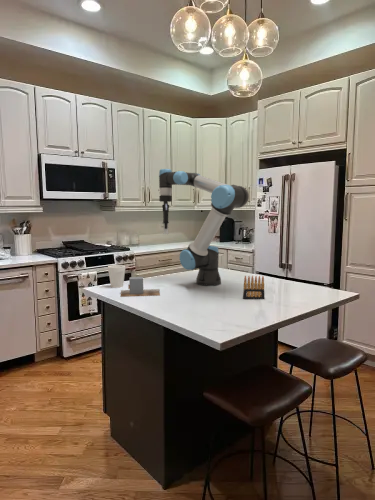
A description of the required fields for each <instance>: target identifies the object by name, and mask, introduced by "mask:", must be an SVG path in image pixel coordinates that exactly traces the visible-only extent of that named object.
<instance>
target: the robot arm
mask: <svg viewBox="0 0 375 500" xmlns="http://www.w3.org/2000/svg"><path fill="white" fill-rule="evenodd" d="M158 184H159V185H158V186H159V189H158V192H159V198H158V199H159V202H161V203H162V213H163V214H162V218H163V220H162V224H163V235H168V234H169V223H170V221H169V212H170V211H169V210H170V204H169V203H170V202H172V201H173V197H172V195H173V187H172V186H173V185H175V186H177V185H178V186H191V187H194V188H197V189H200V190H203V191H205V192H207V193H210V195H211V196H210V198H211V200H210V202H211V203H210V206H211V210H210V211H209V212H208V215H207V217H206V218H205V220H204V222H203V224H202V226H201V228H200V230H199V232H198V233H197V236H196V237H195V239H194V241H192V242H190V243H189V244H188V246H187V248H186V249H183V250H181V251H180V254H179V263H180V265H181V266H182V268H183V269H184V270H186V271H187V270H188V271H193V270H196V269H198V272H197V275H196V279H195V284H196V285H199V286H205V287H207V286H213V287H214V286H219V285H221V284H222V279H221V275H220V272H219V257H220V256H219V247H218V246H215V245H211V244H212V242H213V240H214V238H215V236H216V234H217V233H218V231H219V229H220V228H221V226H222V224H223V222H225V219H226V217H228V216H230V215H231V214H232V213H233V210H234V209H240V208H242V207H244V206H245V205H247V204H248V202H249V197H250V195H249V192H248V190H247V189H246V188H245V187H244V186H241V185H236V184H231V185H230V184H227V183H224V182H221V181H218V180H215V179H212V178H210V177H206V176H203V175H201V174H200V173H196V172H185V171H184V170H181V171H180V170H178V171H172V169H170V168H161V169H159V173H158Z"/></svg>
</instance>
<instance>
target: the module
mask: <svg viewBox="0 0 375 500" xmlns="http://www.w3.org/2000/svg"><path fill="white" fill-rule="evenodd" d="M128 281H129V284H128V286H127V287H128V288H127V290H130V294H143V290H144V277H143V276H132V277H131V276H130V277H129V280H128Z"/></svg>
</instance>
